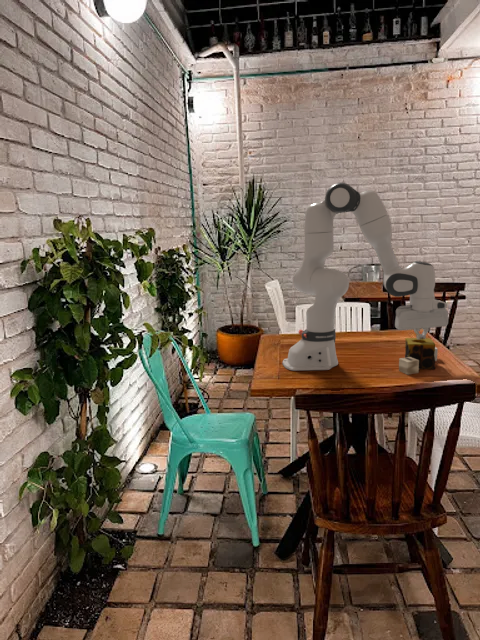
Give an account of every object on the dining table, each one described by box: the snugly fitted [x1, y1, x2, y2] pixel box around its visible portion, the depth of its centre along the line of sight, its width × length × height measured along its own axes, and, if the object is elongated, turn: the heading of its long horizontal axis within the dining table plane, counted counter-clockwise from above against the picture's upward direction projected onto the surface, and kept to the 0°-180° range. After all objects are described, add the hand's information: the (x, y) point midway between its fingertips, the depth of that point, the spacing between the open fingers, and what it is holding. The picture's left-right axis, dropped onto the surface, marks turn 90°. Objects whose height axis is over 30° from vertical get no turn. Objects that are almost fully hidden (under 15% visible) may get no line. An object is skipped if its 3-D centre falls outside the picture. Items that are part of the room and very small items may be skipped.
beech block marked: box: [398, 357, 420, 376], centre depth 179 cm, size 5×5×5 cm
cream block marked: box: [434, 346, 439, 362], centre depth 194 cm, size 5×5×5 cm
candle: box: [404, 337, 436, 370], centre depth 186 cm, size 10×10×10 cm
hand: (420, 339), depth 184 cm, fingers closed
